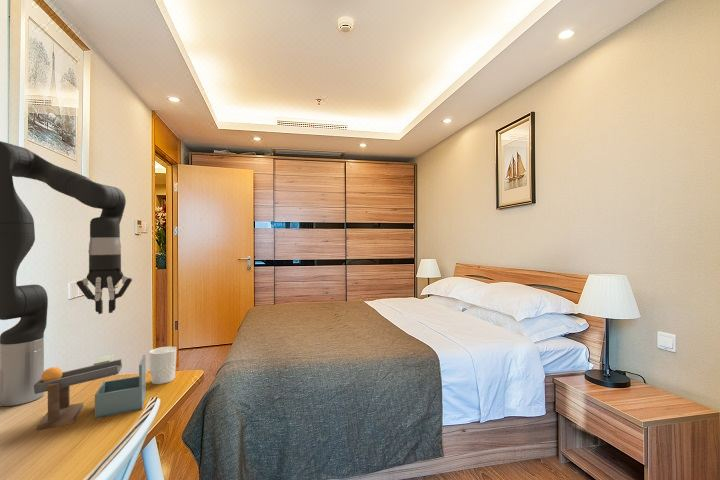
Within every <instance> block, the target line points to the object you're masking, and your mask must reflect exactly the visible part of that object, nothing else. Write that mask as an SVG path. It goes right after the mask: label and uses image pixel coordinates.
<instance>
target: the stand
mask: <svg viewBox="0 0 720 480" xmlns="http://www.w3.org/2000/svg"><path fill="white" fill-rule="evenodd" d="M70 387H71V386H67V387H63V388H60V383H54V384H49V385H48V391H47V412H46V414H44V416H42V418H41V419H40V421H38V423H37V424H36V431H40V430H44V429H45V430H46V429H51V428H56V427H60V426H65V425H70V424H74V422H76V420H77V418H78V417H79V415H80V413H81V412H82V410H83V409H84V407H85V402H78V403H72V404H71V403H70V400H71V399H70V397H71V395H70V390H71V389H70Z"/></svg>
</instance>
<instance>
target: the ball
mask: <svg viewBox="0 0 720 480" xmlns="http://www.w3.org/2000/svg"><path fill="white" fill-rule="evenodd" d="M62 372H63V371H62V368H59V367H55V366H52V367H49V368H47V369H46V370H45V369H44V372H43V374H42V377H41V378H42V381H43V382H47V381H51V380H56V379H60V378H61V377H62Z"/></svg>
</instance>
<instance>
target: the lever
mask: <svg viewBox="0 0 720 480" xmlns="http://www.w3.org/2000/svg"><path fill="white" fill-rule="evenodd" d="M114 358H115V353H110V354H106V355H101V356H98V358H97V359H96V360H95V361H94V363H93V365H89V366H83V367H80V368H75V369H71V370H66V371H62V377H61V378H60V379H56V380H51V381H47V382H43V381H42V378H41V379H40V380H39V381H38V382H37V383H36V384H35V385H33V386H34V393H35V394H38V393H42V392H44V393H45V392H48V385H49V384H54V383H60V388H63V387H67V386H70V387H71V386H75V385H78V384H79V385H80V384H82V383H87V382H91V381H96V380H100V379H103V378H107V377H113V376H117V375H119V373H120V372H121V370H122V368H123V363H122V359H121V358H119V359H115V360H114Z"/></svg>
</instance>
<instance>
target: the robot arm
mask: <svg viewBox="0 0 720 480" xmlns="http://www.w3.org/2000/svg"><path fill="white" fill-rule="evenodd" d="M13 177H15V178H26V179H31V180H34V181H38V182H43V184H47V186H49V187H50V188H51V189H53V190H54V191H57V192H58V193H61V194H63V195H66V196H69V197H71V198H74V199H75V200H77V201H78V202H80V203H81V204H84V205H85V206H88V207H91V208H94V209H99V210H101V213H100V216H98V217H93V218H91V220H90V221H89V222H90V223H89V243H88V251H87V252H88V273H87V275H86V277H85V278H83V279H81V280H77V281H76V285H77V287H78V288H79V290H81V292H82V294H83V295H84V296H85V298H86V299H87V300H91V301H94V302H95V308H94V310H95V312H96V313H97V314H98V315H101V314H103V313H104V312H103V311H104V310H103V309H104V306H103V303H104V302H103V301H104V300H103V299H102V298H103V290H104V289H107V291H108V296H109V298H108V299H109V300H108V314H111V313H113V312H114V311H115V310H116V309H117V308H116V305H117V303H116V300H117V299H119V298H121V297H123V296H124V294H125V292H126V290H127V289H128V288H129V286H130V284H132V282H133V278H132V277H128V276H125V275H124V273H123V272H122V243H121V227H120V224H121V221H122V218H123V216H124V215H123V214H124V212H125V208H126V204H127V202H126V201H127V200H126V196H125V193H124V191H122V189H120V188H119V187H115V186H112V185H105V184H101V183H98V182H96V181H93V180H91V179H90V178H89V177H87V176H84V175H82V174H79V173H77V172H75V171H72V170H69V169H67V168H64V167H60V166H59V165H55V164H54V163H51V162H49V161H47V160H46V159H44V158H43V157H41V156H39V155H38V154H36V153H35V152H33V151H32V150H29V149H28V148H25V147H22V146H19V145H15V144H12V143H9V142H4V141H0V320H1V321H7V320H14V319H19V318H20V320H19V321H18V322H17V323H16V324H15V325H14V326H11V328H8V329H7V330H5V331H2V332H1V334H0V407H10V406H13V407H14V406H18V405H22V404H27V403H30V402H33V401H36V400H38V399H40V398H42V397H43V396H44V394H45V392H42V393H38V394H35V393H34V386H33V385H35V384H36V383H37V382H38V381H39V380H40V379H41V377H42V374H43V372H44V371H45V356H44V355H45V348H44V347H45V340H44V339H45V331H46V328H47V321H48V319H47V318H48V308H49V305H48V304H49V300H48V294H47V290H46V289H45V288H44V286H42V285H39V284H25V285H17V277H18V270H19V267H20V265H21V263H22V262H23V260H24V259H25V257H26V256H27V255H28V254H29V252H30V251H31V249H32V247H33V246H34V243H35V241H36V233H35V220H34V217H33V216H32V213H31V212H30V210H29V209H28V207H27V206H26V204H25V203H24V202H23V201H22V199H21V197H20V195H18V193H17V191H16V189H15V188H16V187H15V185H14V178H13ZM120 281H121V283H122V284H123V285H122V286H121V288H119V290H118V292H117V293H116V285H117V284H119V282H120ZM89 283H90V284H91V285H92V286H93V287H94V293H93V292H92V291H91V289H90V288H89V287H88V286H89Z"/></svg>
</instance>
